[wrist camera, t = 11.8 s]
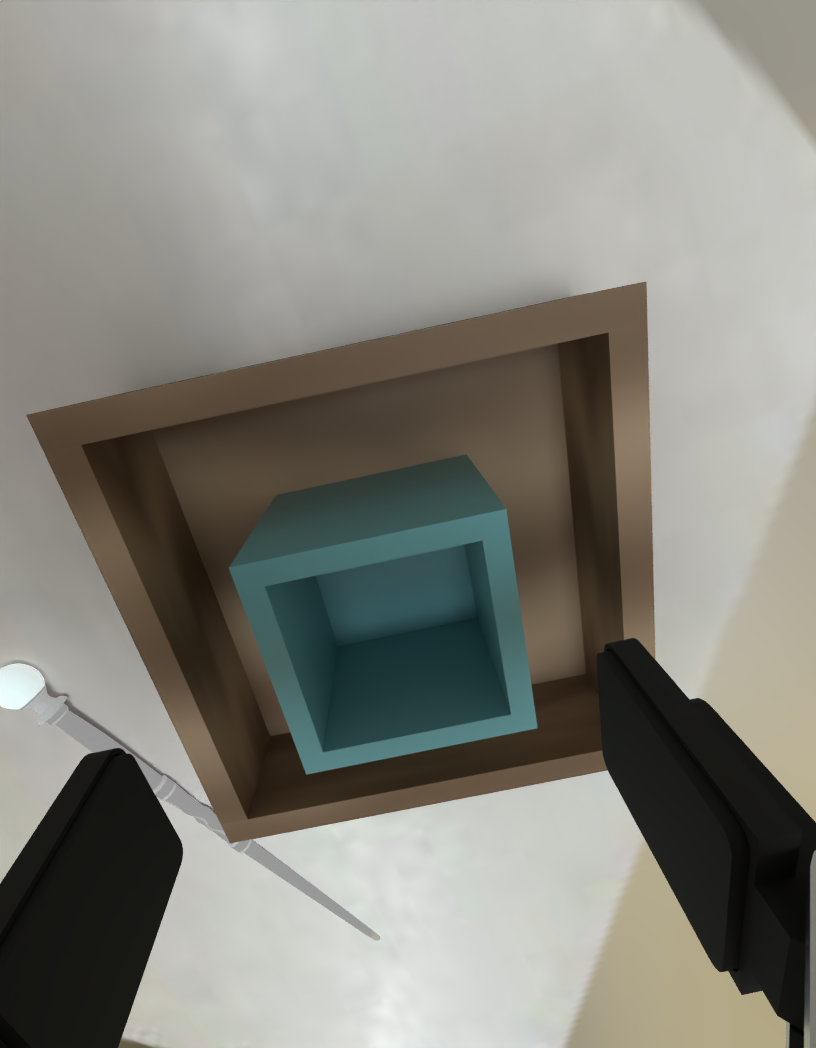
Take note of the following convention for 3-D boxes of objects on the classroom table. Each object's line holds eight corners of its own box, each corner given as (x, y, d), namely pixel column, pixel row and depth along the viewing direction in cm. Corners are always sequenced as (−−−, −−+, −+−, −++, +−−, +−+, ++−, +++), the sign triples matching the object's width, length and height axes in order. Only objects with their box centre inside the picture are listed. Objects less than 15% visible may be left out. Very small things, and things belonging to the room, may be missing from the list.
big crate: (121, 393, 17) (26, 415, 13) (573, 296, 17) (646, 281, 12) (260, 740, 23) (229, 843, 18) (600, 673, 23) (657, 760, 18)
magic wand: (376, 915, 30) (364, 951, 29) (12, 656, 22) (-27, 691, 20) (396, 923, 29) (383, 959, 28) (19, 652, 20) (-22, 688, 19)
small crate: (275, 495, 18) (228, 567, 12) (466, 454, 18) (506, 509, 12) (326, 654, 20) (306, 774, 15) (493, 619, 20) (537, 728, 15)
